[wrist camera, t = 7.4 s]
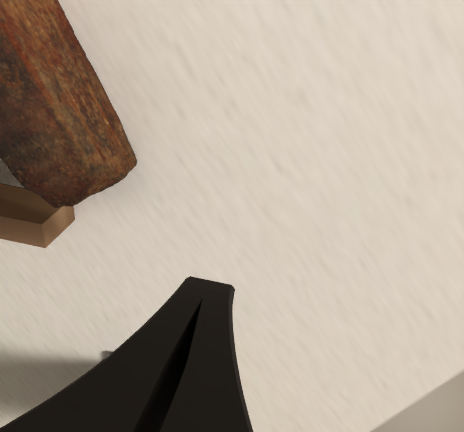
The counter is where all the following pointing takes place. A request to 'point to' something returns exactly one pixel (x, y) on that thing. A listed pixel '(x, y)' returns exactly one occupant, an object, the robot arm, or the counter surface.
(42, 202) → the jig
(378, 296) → the counter surface
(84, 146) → the brick
